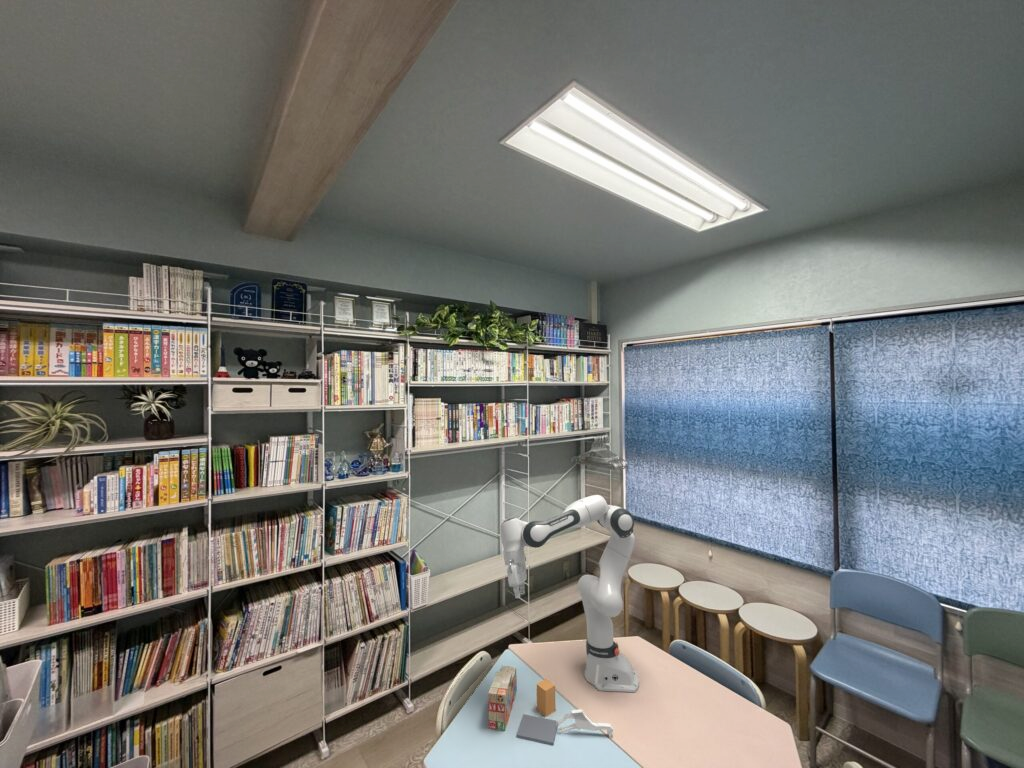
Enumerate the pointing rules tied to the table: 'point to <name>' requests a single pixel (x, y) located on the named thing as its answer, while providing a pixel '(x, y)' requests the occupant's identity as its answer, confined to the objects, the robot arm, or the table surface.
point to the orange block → (546, 697)
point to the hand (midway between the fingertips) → (520, 596)
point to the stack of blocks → (501, 697)
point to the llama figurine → (583, 723)
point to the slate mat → (537, 729)
